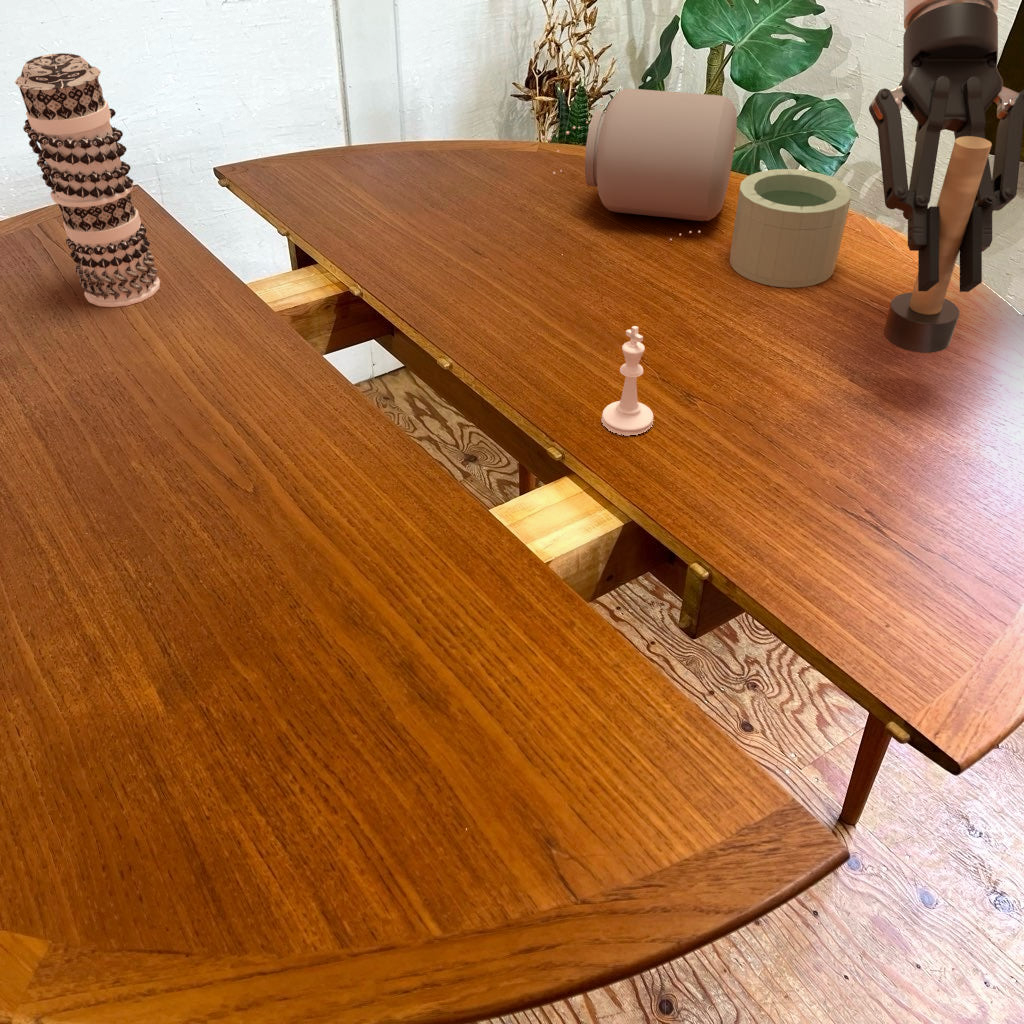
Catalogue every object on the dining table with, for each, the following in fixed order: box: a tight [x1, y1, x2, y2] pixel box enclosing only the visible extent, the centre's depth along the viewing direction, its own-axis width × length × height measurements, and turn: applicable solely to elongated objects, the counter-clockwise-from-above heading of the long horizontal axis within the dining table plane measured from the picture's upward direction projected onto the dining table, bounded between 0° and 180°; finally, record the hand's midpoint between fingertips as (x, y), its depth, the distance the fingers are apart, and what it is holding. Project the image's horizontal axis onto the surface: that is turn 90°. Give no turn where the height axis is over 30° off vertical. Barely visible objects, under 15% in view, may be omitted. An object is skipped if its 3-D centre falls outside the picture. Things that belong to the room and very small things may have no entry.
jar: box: [541, 88, 738, 242], centre depth 122 cm, size 19×15×25 cm
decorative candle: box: [14, 52, 161, 308], centre depth 103 cm, size 9×9×25 cm
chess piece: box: [600, 325, 655, 437], centre depth 87 cm, size 5×5×10 cm
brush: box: [882, 136, 993, 354], centre depth 84 cm, size 6×6×18 cm
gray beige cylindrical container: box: [729, 168, 852, 289], centre depth 111 cm, size 12×12×9 cm
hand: (949, 286), depth 82 cm, fingers closed on brush, 3 cm apart
